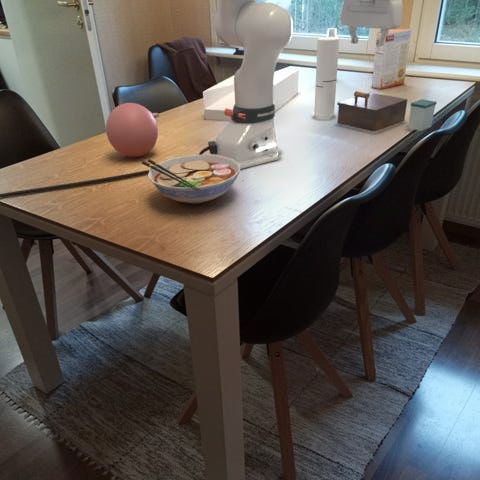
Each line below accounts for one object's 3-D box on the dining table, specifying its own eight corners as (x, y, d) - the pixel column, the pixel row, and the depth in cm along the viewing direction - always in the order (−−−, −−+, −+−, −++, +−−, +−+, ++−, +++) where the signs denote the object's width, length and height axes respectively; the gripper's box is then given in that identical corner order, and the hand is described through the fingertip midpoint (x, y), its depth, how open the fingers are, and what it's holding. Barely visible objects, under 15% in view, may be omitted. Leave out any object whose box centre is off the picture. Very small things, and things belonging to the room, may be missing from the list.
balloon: (181, 148, 156) (175, 97, 147) (135, 167, 144) (126, 113, 134) (147, 141, 164) (139, 92, 154) (101, 159, 151) (90, 106, 142)
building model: (249, 91, 215) (249, 67, 209) (297, 93, 207) (298, 68, 201) (205, 119, 182) (202, 91, 176) (260, 122, 175) (259, 94, 169)
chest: (374, 134, 158) (377, 112, 154) (337, 125, 168) (338, 104, 164) (404, 122, 167) (407, 101, 163) (366, 115, 176) (369, 95, 172)
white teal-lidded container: (420, 133, 157) (425, 105, 151) (406, 130, 160) (410, 103, 155) (431, 129, 160) (436, 101, 155) (417, 126, 163) (422, 99, 158)
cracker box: (394, 82, 215) (401, 27, 203) (404, 84, 211) (412, 28, 199) (370, 87, 210) (376, 31, 197) (380, 89, 206) (387, 32, 193)
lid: (375, 112, 154) (377, 97, 151) (337, 105, 163) (338, 90, 161) (407, 101, 162) (409, 86, 160) (369, 94, 172) (370, 80, 169)
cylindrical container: (333, 120, 173) (338, 40, 158) (313, 119, 175) (316, 40, 159) (334, 114, 179) (339, 36, 164) (314, 114, 180) (318, 37, 165)
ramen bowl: (262, 200, 120) (262, 168, 115) (182, 228, 110) (178, 194, 105) (208, 173, 137) (206, 144, 132) (135, 195, 127) (129, 164, 122)
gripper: (337, -10, 145) (333, 43, 154) (395, -9, 133) (388, 49, 141) (350, -11, 149) (346, 40, 157) (408, -11, 136) (401, 46, 144)
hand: (366, 44), depth 149 cm, fingers open, 8 cm apart
